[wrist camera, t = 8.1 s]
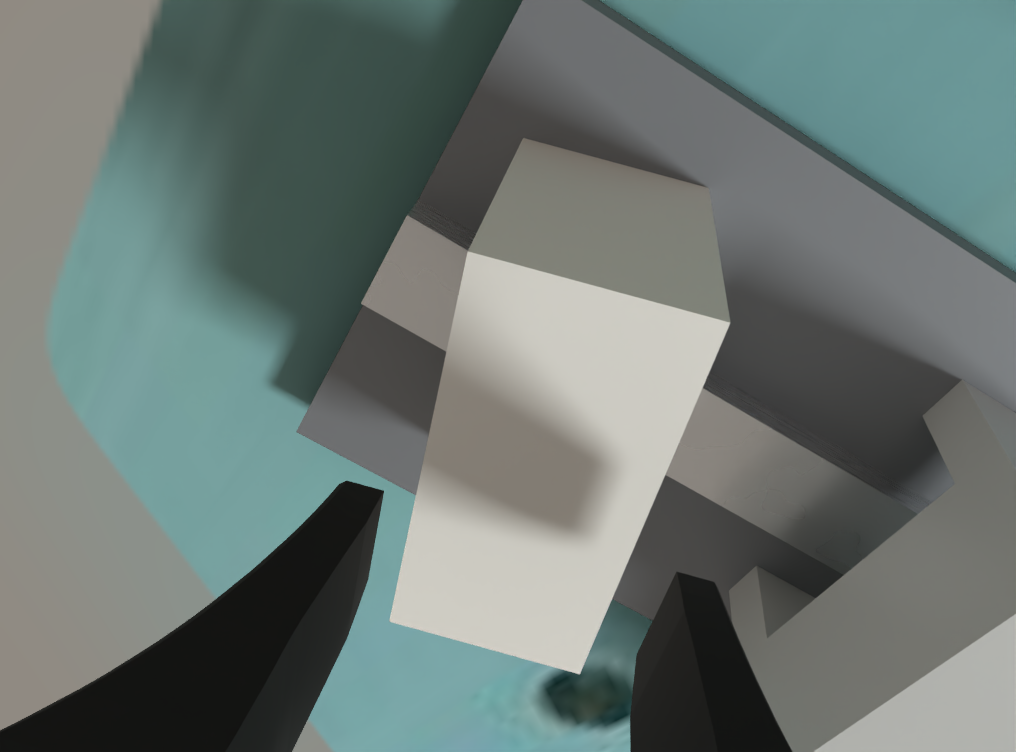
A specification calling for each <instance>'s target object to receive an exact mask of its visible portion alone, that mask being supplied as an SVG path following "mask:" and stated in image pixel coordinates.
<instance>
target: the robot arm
mask: <svg viewBox="0 0 1016 752" xmlns="http://www.w3.org/2000/svg"><path fill="white" fill-rule="evenodd" d="M383 494H384V491H382V490H379V489H375V488H371V487H368V486H364V485H361V484H357V483H353V482H350V481H345V482H343V483H341V484H339V485H338V486H337V487H336V488H335V490H334V491H333V492H332V493H331V494H330V495H329V497H328V498H327V499H326V500H325V501H324V502H323V503H322V504H321V505H320V506H319V507H318V509H317V510H316V511H315V512H314V513H313V514H312V515H311V516H310V517H309V518H308V519H307V520H306V521H305V522H304V523H303V524H302V525H301V526H300V527H299V528H298V529H297V530H296V531H295V532H294V533H293V534H291V535H290V536H289V537H288V538H287V539H286V540H285V541H284V542H283V543H282V544H281V545H279V546H278V547H277V548H276V549H275V550H274V551H273V552H272V553H271V554H270V555H268V556H267V557H266V558H265V559H264V560H263V561H262V562H261V563H260V564H258V565H257V566H256V567H255V568H254V569H253V570H252V571H250V572H249V573H248V574H247V575H245V576H244V577H243V578H242V579H240V580H239V581H238V582H237V583H236V584H234V585H233V586H232V587H231V588H229V589H228V590H227V591H226V592H224V593H223V594H222V595H221V596H219V597H218V598H217V599H216V600H214V601H213V602H212V603H211V604H210V605H208V606H207V607H205V608H204V609H203V610H201V611H200V612H199V613H197V614H196V615H195V616H193V617H192V618H191V619H189V620H188V621H186V622H185V623H184V624H182V625H181V626H179V627H178V628H176V629H175V630H174V631H172V632H171V633H169V634H168V635H166V636H165V637H164V638H162V639H160V640H159V641H158V642H156V643H154V644H153V645H151V646H150V647H148V648H147V649H145V650H143V651H142V652H140V653H139V654H137V655H136V656H134V657H133V658H131V659H130V660H128V661H126V662H125V663H123V664H121V665H120V666H118V667H116V668H115V669H113V670H112V671H110V672H108V673H107V674H105V675H103V676H101V677H100V678H98V679H96V680H95V681H93V682H91V683H89V684H88V685H86V686H84V687H82V688H81V689H79V690H77V691H75V692H73V693H71V694H69V695H68V696H66V697H64V698H62V699H60V700H58V701H56V702H54V703H52V704H51V705H49V706H47V707H45V708H43V709H41V710H39V711H37V712H35V713H33V714H32V715H30V716H28V717H26V718H24V719H22V720H20V721H18V722H16V723H14V724H12V725H10V726H8V727H6V728H4V729H2V730H0V752H292V750H293V748H294V746H295V744H296V742H297V740H298V738H299V736H300V734H301V732H302V730H303V728H304V726H305V724H306V722H307V720H308V718H309V716H310V714H311V711H312V709H313V707H314V705H315V703H316V701H317V699H318V697H319V695H320V693H321V691H322V689H323V687H324V685H325V683H326V681H327V679H328V676H329V674H330V672H331V670H332V668H333V666H334V664H335V662H336V660H337V658H338V656H339V654H340V652H341V650H342V647H343V645H344V643H345V641H346V639H347V637H348V634H349V631H350V628H351V626H352V623H353V620H354V617H355V615H356V612H357V609H358V606H359V603H360V601H361V598H362V595H363V592H364V589H365V587H366V584H367V581H368V577H369V571H370V566H371V560H372V555H373V549H374V544H375V538H376V533H377V527H378V522H379V516H380V511H381V505H382V500H383ZM630 736H631V752H793V751H792V750H791V748H790V746H789V744H788V742H787V740H786V738H785V736H784V734H783V732H782V730H781V728H780V726H779V725H778V723H777V721H776V719H775V717H774V714H773V712H772V710H771V708H770V706H769V704H768V702H767V700H766V698H765V696H764V694H763V691H762V689H761V687H760V685H759V683H758V681H757V679H756V677H755V674H754V672H753V670H752V668H751V666H750V663H749V661H748V659H747V656H746V654H745V652H744V650H743V647H742V645H741V643H740V640H739V638H738V636H737V633H736V631H735V628H734V626H733V624H732V621H731V619H730V616H729V614H728V611H727V609H726V606H725V604H724V602H723V599H722V597H721V594H720V592H719V589H718V587H717V586H716V584H715V582H713V581H709V580H706V579H702V578H699V577H695V576H691V575H688V574H684V573H680V572H676V574H675V576H674V578H673V580H672V582H671V584H670V586H669V588H668V590H667V592H666V595H665V597H664V599H663V601H662V603H661V605H660V607H659V609H658V611H657V613H656V615H655V618H654V620H653V622H652V624H651V626H650V628H649V630H648V632H647V634H646V636H645V638H644V640H643V643H642V645H641V647H640V649H639V651H638V653H637V658H636V667H635V676H634V685H633V695H632V705H631V716H630Z"/></svg>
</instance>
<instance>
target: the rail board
mask: <svg viewBox="0 0 1016 752" xmlns="http://www.w3.org/2000/svg"><path fill="white" fill-rule="evenodd" d="M523 138H526V139H529V140H533V141H537V142H540V143H544V144H548V145H552V146H555V147H559V148H563V149H566V150H570V151H574V152H577V153H581V154H585V155H589V156H592V157H596V158H600V159H603V160H607V161H611V162H614V163H618V164H622V165H626V166H629V167H633V168H637V169H640V170H644V171H648V172H652V173H655V174H659V175H663V176H666V177H670V178H674V179H677V180H681V181H685V182H689V183H692V184H696V185H700V186H703V187H707V188H709V193H710V199H711V205H712V211H713V217H714V224H715V230H716V236H717V242H718V248H719V255H720V261H721V267H722V273H723V279H724V286H725V292H726V298H727V304H728V310H729V317H730V325H729V327H728V330H727V332H726V334H725V337H724V339H723V341H722V344H721V346H720V348H719V351H718V353H717V355H716V358H715V360H714V362H713V365H712V367H711V369H710V372H709V374H708V376H707V379H706V381H705V383H704V386H703V388H702V390H701V393H700V395H699V397H698V400H697V402H696V404H695V407H694V409H693V411H692V414H691V416H690V418H689V421H688V423H687V425H686V428H685V430H684V432H683V435H682V437H681V439H680V442H679V444H678V446H677V449H676V451H675V453H674V456H673V458H672V460H671V463H670V465H669V467H668V470H667V472H666V474H665V477H664V479H663V481H662V484H661V486H660V488H659V491H658V493H657V495H656V498H655V500H654V502H653V505H652V507H651V509H650V512H649V514H648V516H647V519H646V521H645V523H644V526H643V528H642V530H641V533H640V535H639V537H638V540H637V542H636V544H635V547H634V549H633V551H632V554H631V556H630V558H629V561H628V563H627V565H626V568H625V570H624V572H623V575H622V577H621V579H620V582H619V584H618V586H617V589H616V591H615V593H614V596H613V598H612V599H613V600H615V601H617V602H619V603H621V604H622V605H624V606H626V607H628V608H630V609H632V610H634V611H636V612H638V613H639V614H641V615H643V616H645V617H647V618H649V619H651V620H654V618H655V615H656V613H657V611H658V609H659V607H660V605H661V603H662V601H663V599H664V597H665V595H666V592H667V590H668V588H669V586H670V584H671V582H672V580H673V578H674V576H675V574H676V572H680V573H684V574H688V575H691V576H695V577H699V578H702V579H706V580H709V581H713V582H715V584H716V586H717V587H718V589H719V592H720V594H721V597H722V599H723V602H724V604H725V606H726V609H727V611H728V614H729V616H730V619H731V621H732V624H733V626H734V628H735V631H736V633H737V636H738V638H739V640H740V643H741V645H742V647H743V650H744V652H745V654H746V656H747V659H748V661H749V663H750V666H751V668H752V670H753V672H754V674H755V677H756V679H757V681H758V683H759V685H760V687H761V689H762V691H763V694H764V696H765V698H766V700H767V702H768V704H769V706H770V708H771V710H772V712H773V714H774V717H775V719H776V721H777V723H778V725H779V726H780V728H781V730H782V732H783V734H784V736H785V738H786V740H787V742H788V744H789V746H790V748H791V750H792V751H793V752H1016V273H1015V272H1013V271H1012V270H1010V269H1009V268H1007V267H1006V266H1004V265H1003V264H1001V263H1000V262H998V261H997V260H995V259H994V258H992V257H990V256H989V255H987V254H986V253H984V252H983V251H981V250H980V249H978V248H977V247H975V246H974V245H972V244H971V243H969V242H968V241H966V240H964V239H963V238H961V237H960V236H958V235H957V234H955V233H954V232H952V231H951V230H949V229H948V228H946V227H945V226H943V225H942V224H940V223H938V222H937V221H935V220H934V219H932V218H931V217H929V216H928V215H926V214H925V213H923V212H922V211H920V210H919V209H917V208H916V207H914V206H912V205H911V204H909V203H908V202H906V201H905V200H903V199H902V198H900V197H899V196H897V195H896V194H894V193H893V192H891V191H890V190H888V189H886V188H885V187H883V186H882V185H880V184H879V183H877V182H876V181H874V180H873V179H871V178H870V177H868V176H867V175H865V174H864V173H862V172H860V171H859V170H857V169H856V168H854V167H853V166H851V165H850V164H848V163H847V162H845V161H844V160H842V159H841V158H839V157H838V156H836V155H834V154H833V153H831V152H830V151H828V150H827V149H825V148H824V147H822V146H821V145H819V144H818V143H816V142H815V141H813V140H812V139H810V138H808V137H807V136H805V135H804V134H802V133H801V132H799V131H798V130H796V129H795V128H793V127H792V126H790V125H789V124H787V123H786V122H784V121H782V120H781V119H779V118H778V117H776V116H775V115H773V114H772V113H770V112H769V111H767V110H766V109H764V108H763V107H761V106H759V105H758V104H756V103H755V102H753V101H752V100H750V99H749V98H747V97H746V96H744V95H743V94H741V93H740V92H738V91H737V90H735V89H733V88H732V87H730V86H729V85H727V84H726V83H724V82H723V81H721V80H720V79H718V78H717V77H715V76H714V75H712V74H711V73H709V72H707V71H706V70H704V69H703V68H701V67H700V66H698V65H697V64H695V63H694V62H692V61H691V60H689V59H688V58H686V57H685V56H683V55H681V54H680V53H678V52H677V51H675V50H674V49H672V48H671V47H669V46H668V45H666V44H665V43H663V42H662V41H660V40H659V39H657V38H655V37H654V36H652V35H651V34H649V33H648V32H646V31H645V30H643V29H642V28H640V27H639V26H637V25H636V24H634V23H633V22H631V21H629V20H628V19H626V18H625V17H623V16H622V15H620V14H619V13H617V12H616V11H614V10H613V9H611V8H610V7H608V6H607V5H605V4H603V3H602V2H600V1H599V0H523V1H522V3H521V5H520V7H519V9H518V11H517V12H516V14H515V16H514V18H513V20H512V22H511V24H510V26H509V28H508V30H507V31H506V33H505V35H504V37H503V39H502V41H501V43H500V45H499V47H498V49H497V51H496V52H495V54H494V56H493V58H492V60H491V62H490V64H489V66H488V68H487V70H486V71H485V73H484V75H483V77H482V79H481V81H480V83H479V85H478V87H477V89H476V91H475V92H474V94H473V96H472V98H471V100H470V102H469V104H468V106H467V108H466V110H465V111H464V113H463V115H462V117H461V119H460V121H459V123H458V125H457V127H456V129H455V131H454V132H453V134H452V136H451V138H450V140H449V142H448V144H447V146H446V148H445V150H444V151H443V153H442V155H441V157H440V159H439V161H438V163H437V165H436V167H435V169H434V171H433V172H432V174H431V176H430V178H429V180H428V182H427V184H426V186H425V188H424V190H423V191H422V193H421V195H420V197H419V199H418V200H417V202H416V203H415V205H414V206H413V207H412V209H411V210H410V212H409V213H408V214H407V216H406V218H405V220H404V222H403V224H402V226H401V228H400V230H399V231H398V233H397V235H396V237H395V239H394V241H393V243H392V245H391V247H390V249H389V251H388V253H387V254H386V256H385V258H384V260H383V262H382V264H381V266H380V268H379V270H378V272H377V274H376V275H375V277H374V279H373V281H372V283H371V285H370V287H369V289H368V291H367V293H366V295H365V297H364V298H363V300H362V302H361V304H362V305H363V306H362V308H361V310H360V311H359V313H358V315H357V317H356V319H355V321H354V323H353V325H352V327H351V329H350V331H349V332H348V334H347V336H346V338H345V340H344V342H343V344H342V346H341V348H340V350H339V351H338V353H337V355H336V357H335V359H334V361H333V363H332V365H331V367H330V369H329V371H328V372H327V374H326V376H325V378H324V380H323V382H322V384H321V386H320V388H319V390H318V391H317V393H316V395H315V397H314V399H313V401H312V403H311V405H310V407H309V409H308V411H307V412H306V414H305V416H304V418H303V420H302V422H301V424H300V426H299V428H298V430H297V431H296V432H297V433H299V434H301V435H303V436H305V437H307V438H309V439H311V440H313V441H314V442H316V443H318V444H320V445H322V446H324V447H326V448H328V449H330V450H331V451H333V452H335V453H337V454H339V455H341V456H343V457H345V458H347V459H348V460H350V461H352V462H354V463H356V464H358V465H360V466H362V467H364V468H365V469H367V470H369V471H371V472H373V473H375V474H377V475H379V476H381V477H382V478H384V479H386V480H388V481H390V482H392V483H394V484H396V485H398V486H399V487H401V488H403V489H405V490H407V491H409V492H411V493H413V494H415V495H416V493H417V489H418V484H419V479H420V474H421V470H422V465H423V460H424V455H425V451H426V446H427V441H428V437H429V432H430V427H431V422H432V418H433V413H434V408H435V403H436V399H437V394H438V389H439V385H440V380H441V375H442V370H443V366H444V361H445V356H446V352H447V347H448V342H449V337H450V333H451V328H452V323H453V318H454V314H455V309H456V304H457V300H458V295H459V290H460V285H461V281H462V276H463V271H464V266H465V262H466V257H467V252H468V250H469V248H470V246H471V244H472V242H473V239H474V237H475V235H476V233H477V231H478V229H479V227H480V225H481V223H482V221H483V219H484V217H485V215H486V213H487V211H488V209H489V207H490V205H491V203H492V201H493V199H494V197H495V195H496V192H497V190H498V188H499V186H500V184H501V182H502V180H503V178H504V176H505V174H506V172H507V170H508V168H509V166H510V164H511V162H512V160H513V158H514V156H515V154H516V152H517V150H518V148H519V145H520V143H521V141H522V139H523Z"/></svg>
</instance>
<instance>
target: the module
mask: <svg viewBox="0 0 1016 752" xmlns="http://www.w3.org/2000/svg"><path fill="white" fill-rule="evenodd" d="M729 325H730V317H729V310H728V304H727V298H726V292H725V286H724V279H723V273H722V267H721V261H720V255H719V248H718V242H717V236H716V230H715V224H714V217H713V211H712V205H711V199H710V193H709V188H707V187H703V186H700V185H696V184H692V183H689V182H685V181H681V180H677V179H674V178H670V177H666V176H663V175H659V174H655V173H652V172H648V171H644V170H640V169H637V168H633V167H629V166H626V165H622V164H618V163H614V162H611V161H607V160H603V159H600V158H596V157H592V156H589V155H585V154H581V153H577V152H574V151H570V150H566V149H563V148H559V147H555V146H552V145H548V144H544V143H540V142H537V141H533V140H529V139H526V138H523V139H522V141H521V143H520V145H519V148H518V150H517V152H516V154H515V156H514V158H513V160H512V162H511V164H510V166H509V168H508V170H507V172H506V174H505V176H504V178H503V180H502V182H501V184H500V186H499V188H498V190H497V192H496V195H495V197H494V199H493V201H492V203H491V205H490V207H489V209H488V211H487V213H486V215H485V217H484V219H483V221H482V223H481V225H480V227H479V229H478V231H477V233H476V235H475V237H474V239H473V242H472V244H471V246H470V248H469V250H468V252H467V257H466V262H465V266H464V271H463V276H462V281H461V285H460V290H459V295H458V300H457V304H456V309H455V314H454V318H453V323H452V328H451V333H450V337H449V342H448V347H447V352H446V356H445V361H444V366H443V370H442V375H441V380H440V385H439V389H438V394H437V399H436V403H435V408H434V413H433V418H432V422H431V427H430V432H429V437H428V441H427V446H426V451H425V455H424V460H423V465H422V470H421V474H420V479H419V484H418V489H417V493H416V498H415V503H414V507H413V512H412V517H411V522H410V526H409V531H408V536H407V540H406V545H405V550H404V555H403V559H402V564H401V569H400V574H399V578H398V583H397V588H396V592H395V597H394V602H393V607H392V611H391V616H390V621H389V622H393V623H396V624H400V625H404V626H407V627H411V628H415V629H418V630H422V631H425V632H429V633H433V634H436V635H440V636H443V637H447V638H451V639H454V640H458V641H461V642H465V643H469V644H472V645H476V646H479V647H483V648H487V649H490V650H494V651H498V652H501V653H505V654H508V655H512V656H516V657H519V658H523V659H526V660H530V661H534V662H537V663H541V664H544V665H548V666H552V667H555V668H559V669H562V670H566V671H570V672H573V673H577V674H580V673H581V670H582V668H583V666H584V663H585V661H586V659H587V656H588V654H589V652H590V649H591V647H592V645H593V642H594V640H595V638H596V635H597V633H598V631H599V628H600V626H601V624H602V621H603V619H604V617H605V614H606V612H607V610H608V607H609V605H610V603H611V600H612V598H613V596H614V593H615V591H616V589H617V586H618V584H619V582H620V579H621V577H622V575H623V572H624V570H625V568H626V565H627V563H628V561H629V558H630V556H631V554H632V551H633V549H634V547H635V544H636V542H637V540H638V537H639V535H640V533H641V530H642V528H643V526H644V523H645V521H646V519H647V516H648V514H649V512H650V509H651V507H652V505H653V502H654V500H655V498H656V495H657V493H658V491H659V488H660V486H661V484H662V481H663V479H664V477H665V474H666V472H667V470H668V467H669V465H670V463H671V460H672V458H673V456H674V453H675V451H676V449H677V446H678V444H679V442H680V439H681V437H682V435H683V432H684V430H685V428H686V425H687V423H688V421H689V418H690V416H691V414H692V411H693V409H694V407H695V404H696V402H697V400H698V397H699V395H700V393H701V390H702V388H703V386H704V383H705V381H706V379H707V376H708V374H709V372H710V369H711V367H712V365H713V362H714V360H715V358H716V355H717V353H718V351H719V348H720V346H721V344H722V341H723V339H724V337H725V334H726V332H727V330H728V327H729Z"/></svg>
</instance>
